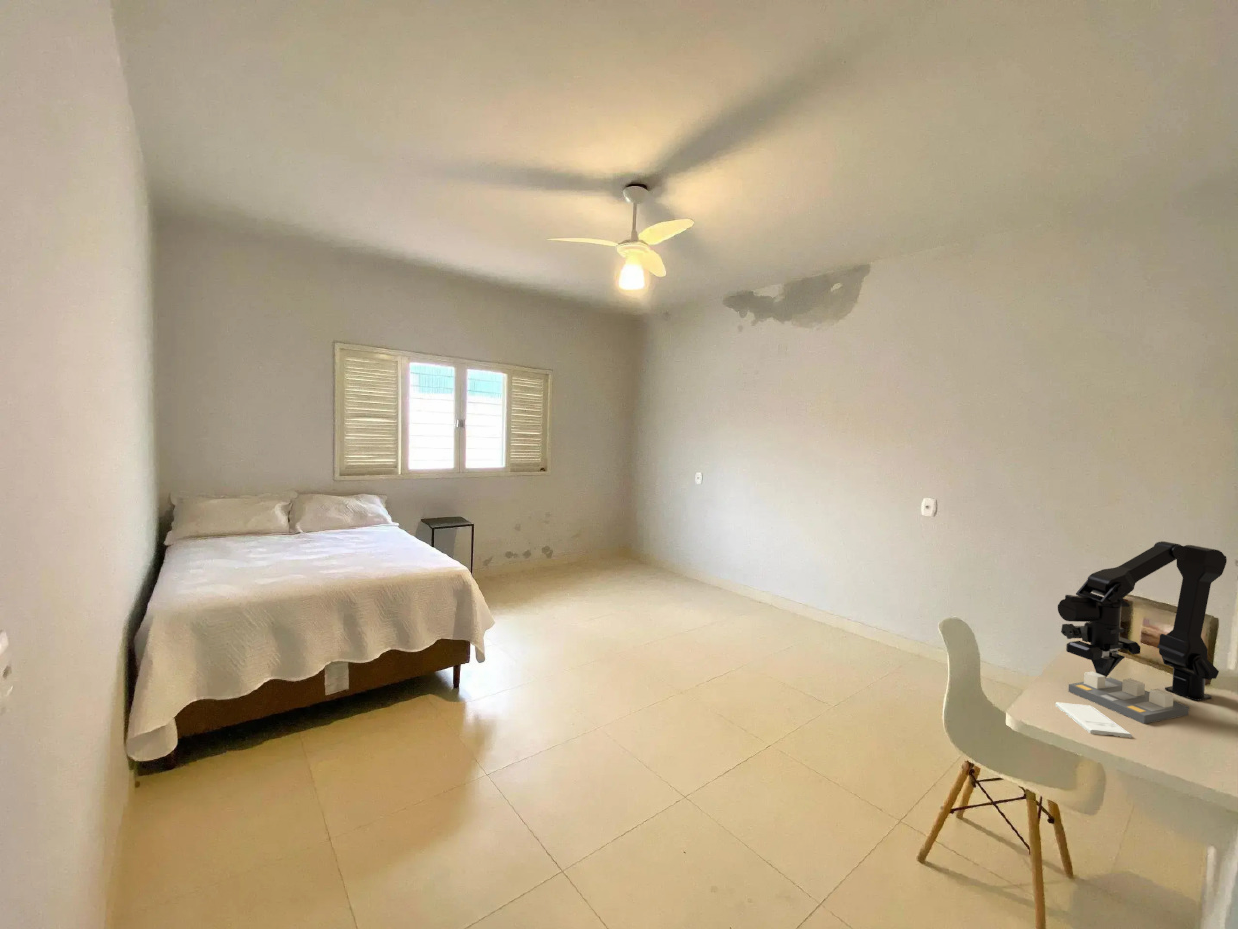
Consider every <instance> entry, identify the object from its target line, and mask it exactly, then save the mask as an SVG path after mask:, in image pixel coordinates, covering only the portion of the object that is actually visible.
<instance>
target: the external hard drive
mask: <svg viewBox="0 0 1238 929" xmlns="http://www.w3.org/2000/svg"><path fill="white" fill-rule="evenodd" d="M1054 706H1055V707H1056V708H1057V707H1058V708H1059V709H1058V708H1057V709H1058V710H1060V711H1061V712H1062V711H1063V712H1065V713H1066V714H1065V713H1064V714H1065V715H1066V716H1067V715H1068V716H1067V717H1069V719H1071V718H1072V719H1073V721H1074V722H1075V723H1076V724H1077V725H1079V727H1081V728H1082V729H1084V730H1085V731H1086V730H1087V733H1089V734H1090V733H1091V734H1092V735H1099V736H1100V735H1101V736H1113V737H1118V736H1120V738H1127V737H1129V739H1132V737H1133V734H1132V733H1130V732H1129V731H1127V730H1126V729H1125V728H1123V727H1122V726H1121V725H1119V724H1118V723H1116V722H1115V721H1114V720H1113V719H1111V718H1110V717H1108V716H1107V715H1105V714H1104V713H1102V711H1100V710H1098V709H1097V708H1095V707H1094V706H1093V705H1089V704H1081V703H1080V704H1078V703H1070V702H1069V703H1068V702H1061V701H1057V702H1055V704H1054ZM1063 712H1062V713H1063ZM1072 719H1071V720H1072Z"/></svg>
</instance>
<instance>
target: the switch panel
mask: <svg viewBox="0 0 1238 929" xmlns="http://www.w3.org/2000/svg"><path fill="white" fill-rule="evenodd" d="M1122 682H1123V680H1122V681H1121V680H1119V679H1116V678H1113V677H1111V676H1110V677H1106V680H1105V688H1099V689H1096V688H1094V687H1091V686H1089V685H1086V684H1084V681H1081V682H1074V683H1070V684H1069V683H1068V692H1069V693H1071V694H1073V693H1074V695H1075V696H1078V695H1079V697H1080V696H1081V697H1080V698H1083V699H1085V700H1087V699H1088V700H1087V701H1090V702H1092V703H1094V702H1095V703H1094V704H1097V705H1099V706H1101V705H1102V707H1104V708H1106V707H1107V709H1108V708H1109V709H1108V710H1111V711H1113V712H1115V711H1116V712H1115V713H1117V714H1119V715H1123V716H1125V717H1128V718H1130V719H1132V720H1134V721H1137V722H1139V723H1141V724H1149V723H1155V722H1158V721H1165V720H1170V719H1174V718H1175V719H1176V718H1180V717H1184V716H1189V713H1190V706H1188V705H1185V704H1183V703H1180V702H1177V701H1175V700H1173V706H1171V707H1165V708H1164V707H1162V706H1159V705H1157V704H1154V703H1151V702H1149V693H1150V691H1147V690H1146V689H1145V695H1143V696H1137V697H1136V696H1133V695H1131V694H1128V693H1126V692H1123V691H1122Z"/></svg>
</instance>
